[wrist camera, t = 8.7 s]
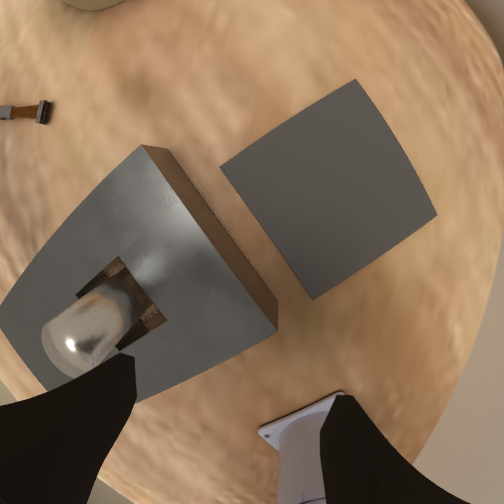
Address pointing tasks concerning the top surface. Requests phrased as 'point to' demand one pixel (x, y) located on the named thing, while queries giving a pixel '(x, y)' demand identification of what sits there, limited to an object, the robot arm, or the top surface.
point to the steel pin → (94, 324)
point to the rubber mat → (331, 188)
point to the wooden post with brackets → (25, 112)
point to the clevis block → (146, 277)
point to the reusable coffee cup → (92, 4)
